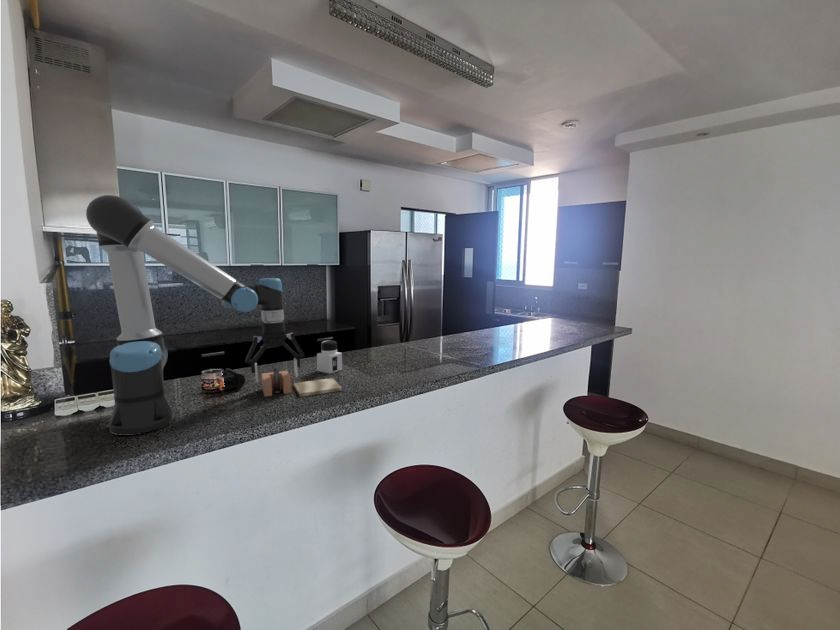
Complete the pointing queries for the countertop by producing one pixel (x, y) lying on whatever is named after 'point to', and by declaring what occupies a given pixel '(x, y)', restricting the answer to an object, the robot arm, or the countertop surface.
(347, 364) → the countertop surface
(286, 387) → the c link
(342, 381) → the countertop surface
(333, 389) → the board
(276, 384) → the stand
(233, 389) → the end cap
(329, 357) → the container
